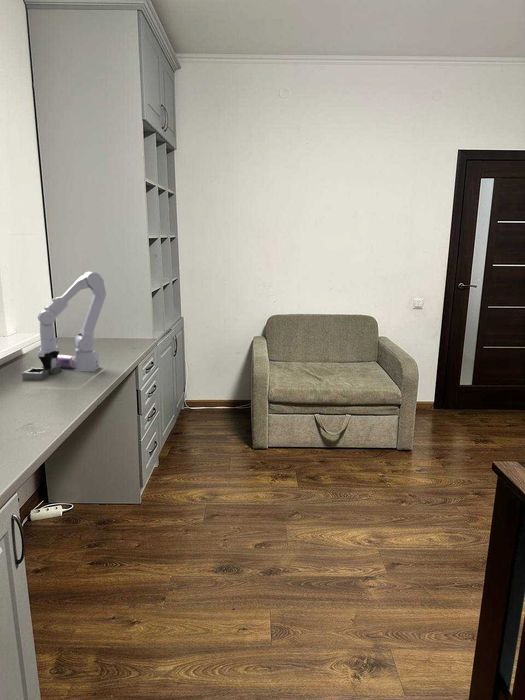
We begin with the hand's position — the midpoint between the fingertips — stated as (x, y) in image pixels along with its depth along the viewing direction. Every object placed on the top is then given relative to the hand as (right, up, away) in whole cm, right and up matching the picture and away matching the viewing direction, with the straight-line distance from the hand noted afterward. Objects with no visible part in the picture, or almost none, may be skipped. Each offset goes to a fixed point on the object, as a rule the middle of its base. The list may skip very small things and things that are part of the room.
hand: (50, 369), depth 209 cm
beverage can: (-7, +4, +11) cm, 14 cm away
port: (-2, -4, -7) cm, 8 cm away
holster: (0, -2, 0) cm, 2 cm away
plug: (0, -1, 0) cm, 1 cm away
